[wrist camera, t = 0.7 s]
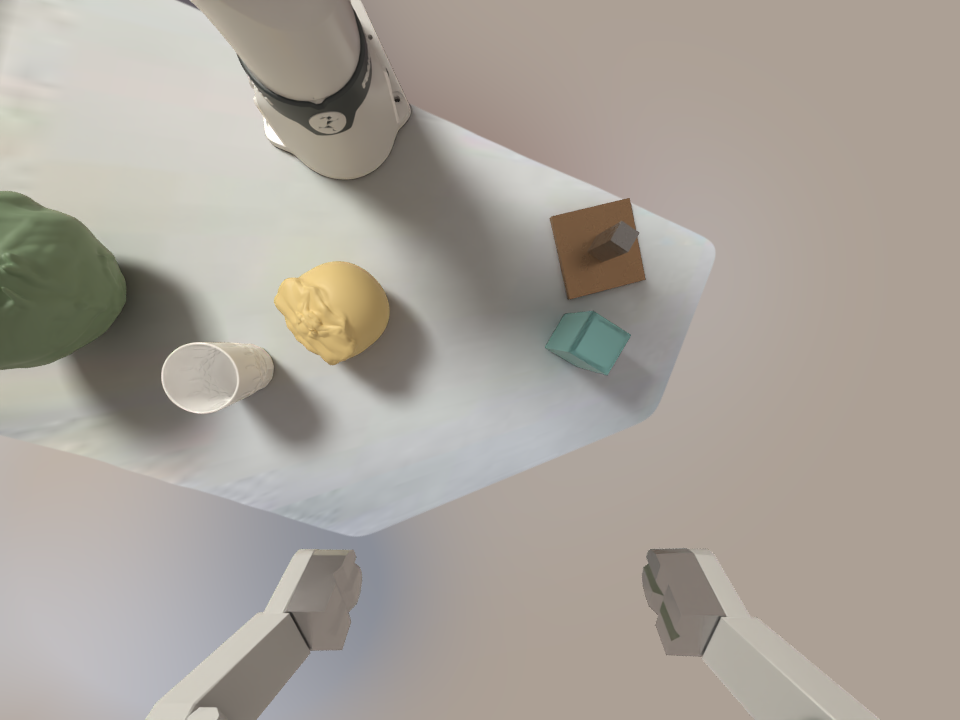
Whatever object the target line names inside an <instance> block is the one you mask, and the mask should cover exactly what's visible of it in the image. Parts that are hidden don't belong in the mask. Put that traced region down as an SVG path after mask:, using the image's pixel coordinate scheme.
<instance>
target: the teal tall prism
mask: <svg viewBox="0 0 960 720" xmlns="http://www.w3.org/2000/svg"><path fill="white" fill-rule="evenodd" d="M630 336H631V335H630V334H629V333H627V332H626V331H624V330H622V329H621V328H619V327H618V326H616V325H615V324H613V323H611V322H610V321H608V320H607V319H605V318H604V317H602V316H600V315H599V314H597V313H596V312H594V311H588V312H578V313H568V314H564V316H563V317H562V319H561V321H560V322H559V324H558V326H557V328H556V329H555V331H554V333H553V334H552V336H551V338H550V339H549V341H548V343H547V345H546V346H545V348H546V349H548V350H550V351H551V352H553V353H555V354H556V355H558V356H560V357H561V358H563V359H565V360H566V361H568V362H570V363H571V364H573V365H575V366H576V367H579V368H583V369H586V370H590V371H593V372H597V373H600V374H603V375H608V373H609V372H610V370H611V368H612V367H613V365H614V363H615V362H616V360H617V358H618V357H619V355H620V353H621V352H622V350H623V348H624V347H625V345H626V343H627V341H628V340H629V338H630Z"/></svg>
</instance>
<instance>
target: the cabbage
mask: <svg viewBox="0 0 960 720" xmlns="http://www.w3.org/2000/svg"><path fill="white" fill-rule="evenodd" d="M125 303H126V282H125V279H124V276H123V275H122V273H121V271H120V269H119V266H118V264H117V262H116V260H115V258H114V255H113V254H112V253H111V252H110V251H109V250H108V249H107V248H106V247H104V246H103V245H102V244H101V243H100V242H99V241H98V240H97V239H96V238H95V236H94V235H93V234H92V233H91V231H90V230H89V229H88V228H87V227H86V226H85V225H84V224H83V223H81V222H80V221H79V220H78V219H76V218H74V217H72V216H70V215H67V214H65V213H62V212H59V211H55V210H52V209H48V208H45V207H43V206H42V205H40V204H38V203H37V202H35V201H34V200H32V199H31V198H29V197H27V196H25V195H23V194H20V193H17V192H12V191H0V370H5V369H14V368H31V367H37V366H42V365H46V364H49V363H52V362H54V361H56V360H58V359H61V358H63V357H66V356H68V355H70V354H72V353H73V352H74V351H75V350H77V349H79V348H81V347H83V346H85V345H86V344H88V343H90V342H92V341H93V340H95V339H96V338H98V337H99V336H101V335H102V334H103V333H104V332H106V331H107V330H108V328H109V327H110V326H111V324H112V323H113V322H114V321H115V319H116V318H117V316H118V315H119V314H120V312H121V311H122V308H123V305H124V304H125Z"/></svg>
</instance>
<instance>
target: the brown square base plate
mask: <svg viewBox="0 0 960 720" xmlns="http://www.w3.org/2000/svg"><path fill="white" fill-rule="evenodd" d="M550 222H551V226H552V231H553V235H554V239H555V244H556V248H557V253H558V257H559V262H560V266H561V271H562V275H563V280H564V284H565V288H566V293H567V297H568V300H569V299H573V298H577V297H581V296H585V295H588V294H592V293H596V292H600V291H604V290H607V289H611V288H615V287H619V286H623V285H627V284H630V283H634V282H638V281H642V280H646V279H645V274H644V269H643V264H642V259H641V254H640V249H639V244H638V239H637V236H638V235H639V232H638V231H636V229H635V224H634V218H633V213H632V208H631V203H630V198H627V199H623V200H619V201H615V202H611V203H606V204H602V205H598V206H594V207H590V208H585V209H581V210H577V211H573V212H569V213H564V214H560V215H556V216H552V217H551V218H550Z"/></svg>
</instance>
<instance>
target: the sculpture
mask: <svg viewBox="0 0 960 720" xmlns="http://www.w3.org/2000/svg"><path fill="white" fill-rule="evenodd" d="M274 303H275V306H276V307H277V309H278V310H279V311H280V312H281V313H282V314H283V315H284V316H285V320H286V325H287V327H288V329H289V330H290V331H291V332H292V333H293V334H294V336H295V338H296V340H297V341H298V342H300V343H302V344H303V345H304V346H305V347H306V349H307V350H309V351H311V352H313V353H315V354H317V355H320V356H321V358H322V359H323V360H324V361H325V362H327V363H328V364H329V365H336V364H337V363H339V362H341V361H345V360H347V359H348V358H351V357H354V356H356V355H358V354H360V353H361V352H363V351H364V350H366V349H367V348H368V347H369V346H371V345H372V344H373V343H374V342H375V341H376V340H377V339H378V338H379V337H380V336H381V335H382V333H383V332H384V330H385V328H386V326H387V323H388V320H389V314H390V309H389V303H388V299H387V296H386V294H385V292H384V290H383V288H382V287H381V285H380V284H379V283H378V281H377V280H376V279H375V278H374V277H373V276H372V275H371V274H370V273H368V272H367V271H366V270H364V269H363V268H361V267H359V266H357V265H354V264H352V263H348V262H341V261H336V262H328V263H324V264H321V265H319V266H317V267H315V268H313V269H311V270H310V271H308V272H306V273H305V274H303V275H301V276H300V277H299V278H287V279H285V280H284V281H283V282H282V283H281V285H280V287H279V289H278V294H277V295H276V296H275V298H274Z"/></svg>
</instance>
